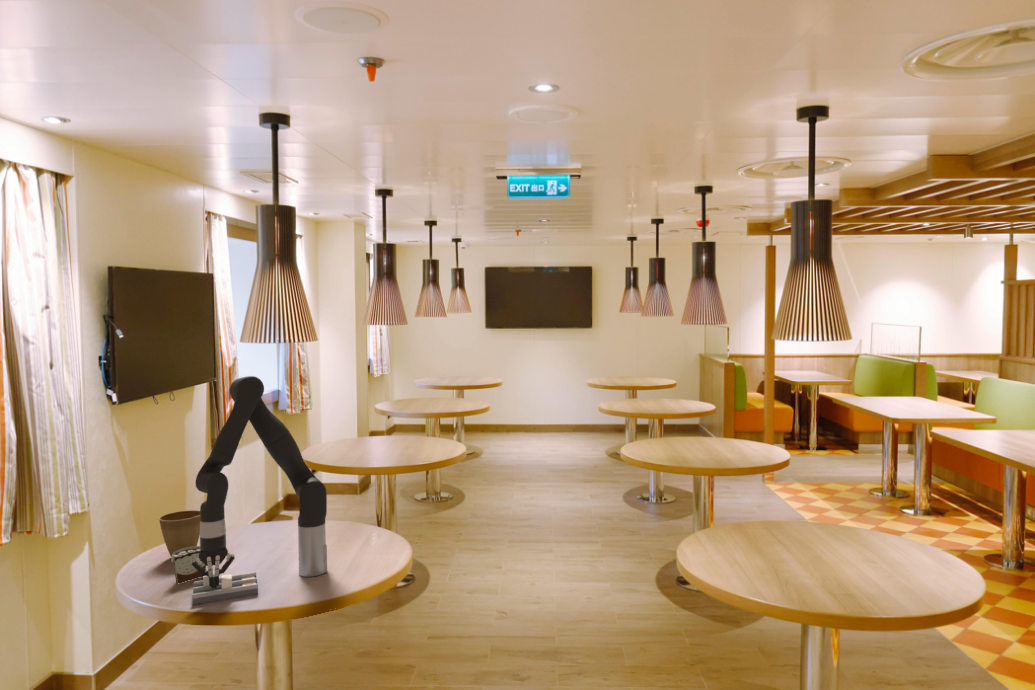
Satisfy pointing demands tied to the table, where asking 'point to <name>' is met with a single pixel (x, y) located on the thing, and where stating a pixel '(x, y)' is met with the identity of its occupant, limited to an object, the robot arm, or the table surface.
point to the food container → (186, 564)
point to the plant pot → (180, 529)
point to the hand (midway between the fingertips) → (214, 587)
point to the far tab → (206, 580)
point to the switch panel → (240, 588)
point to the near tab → (226, 581)
